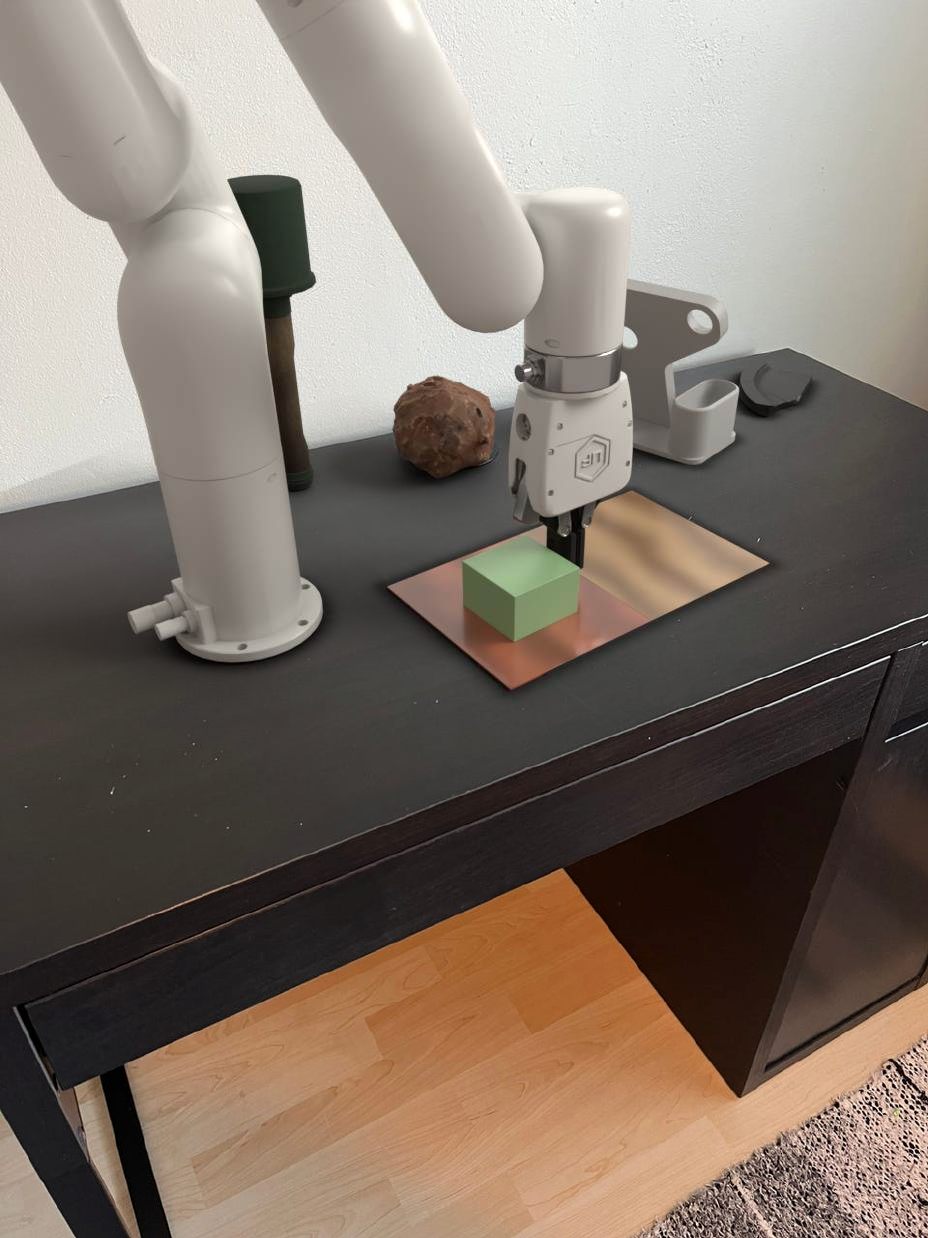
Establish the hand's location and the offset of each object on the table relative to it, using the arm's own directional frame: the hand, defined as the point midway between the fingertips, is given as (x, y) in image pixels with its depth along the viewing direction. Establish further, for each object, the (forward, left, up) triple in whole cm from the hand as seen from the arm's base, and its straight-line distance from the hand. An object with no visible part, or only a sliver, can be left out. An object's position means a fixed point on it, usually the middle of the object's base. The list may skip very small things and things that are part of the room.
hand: (564, 564), depth 85 cm
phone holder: (+29, +18, -2) cm, 34 cm away
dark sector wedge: (+49, +18, -2) cm, 52 cm away
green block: (-6, -1, -2) cm, 6 cm away
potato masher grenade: (-10, +32, -2) cm, 34 cm away
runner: (+2, 0, -2) cm, 3 cm away
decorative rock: (+5, +26, -2) cm, 27 cm away
